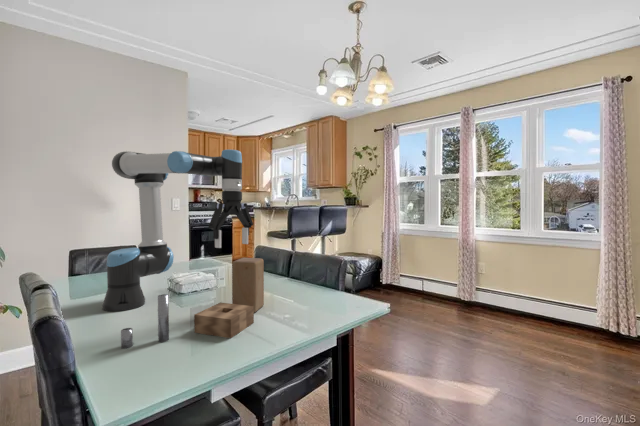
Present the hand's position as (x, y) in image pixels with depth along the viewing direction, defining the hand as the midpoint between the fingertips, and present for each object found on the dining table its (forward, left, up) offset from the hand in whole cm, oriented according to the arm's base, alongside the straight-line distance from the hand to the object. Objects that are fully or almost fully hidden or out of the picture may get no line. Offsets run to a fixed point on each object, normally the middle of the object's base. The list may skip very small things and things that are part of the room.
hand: (232, 245), depth 127 cm
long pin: (-6, -29, -26) cm, 39 cm away
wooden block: (+3, +6, -27) cm, 27 cm away
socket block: (+6, -14, -26) cm, 30 cm away
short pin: (-13, -36, -26) cm, 46 cm away
